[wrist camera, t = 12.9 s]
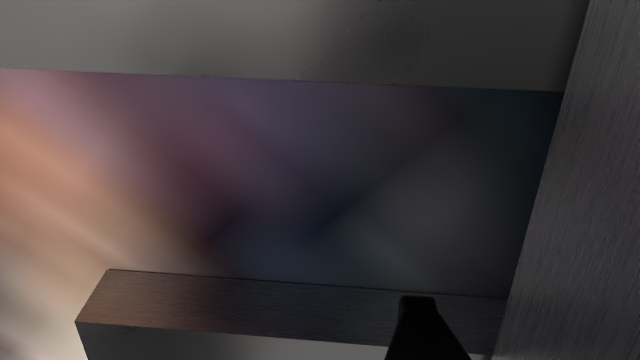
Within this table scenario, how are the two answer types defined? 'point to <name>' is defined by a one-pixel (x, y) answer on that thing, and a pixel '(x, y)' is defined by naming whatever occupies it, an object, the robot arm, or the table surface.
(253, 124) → the table surface
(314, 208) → the table surface
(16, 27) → the press bed
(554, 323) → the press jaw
